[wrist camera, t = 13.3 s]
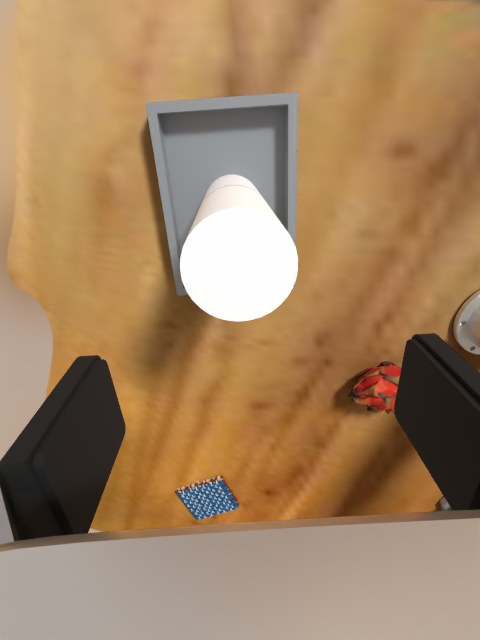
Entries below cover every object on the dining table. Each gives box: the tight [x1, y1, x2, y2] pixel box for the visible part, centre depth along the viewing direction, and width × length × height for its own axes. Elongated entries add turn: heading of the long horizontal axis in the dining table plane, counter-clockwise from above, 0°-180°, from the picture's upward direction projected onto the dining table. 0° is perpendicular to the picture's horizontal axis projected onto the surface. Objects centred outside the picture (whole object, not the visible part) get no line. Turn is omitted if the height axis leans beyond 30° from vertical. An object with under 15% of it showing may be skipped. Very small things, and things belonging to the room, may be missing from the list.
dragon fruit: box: [348, 361, 401, 414], centre depth 54 cm, size 8×8×12 cm
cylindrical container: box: [180, 174, 298, 321], centre depth 31 cm, size 7×7×25 cm
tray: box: [146, 92, 298, 296], centre depth 42 cm, size 16×22×4 cm
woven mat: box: [176, 475, 239, 520], centre depth 70 cm, size 10×11×2 cm
